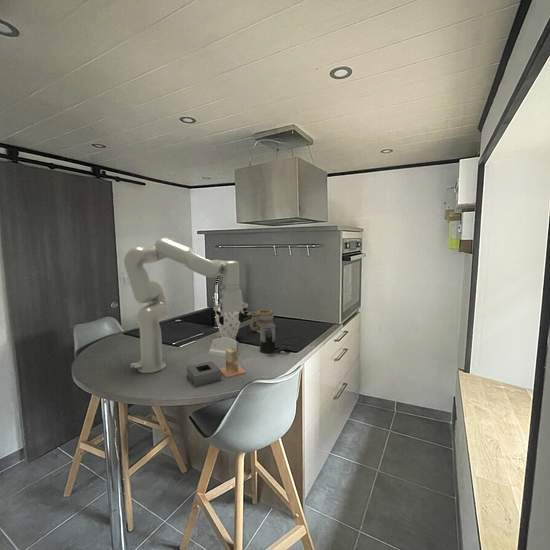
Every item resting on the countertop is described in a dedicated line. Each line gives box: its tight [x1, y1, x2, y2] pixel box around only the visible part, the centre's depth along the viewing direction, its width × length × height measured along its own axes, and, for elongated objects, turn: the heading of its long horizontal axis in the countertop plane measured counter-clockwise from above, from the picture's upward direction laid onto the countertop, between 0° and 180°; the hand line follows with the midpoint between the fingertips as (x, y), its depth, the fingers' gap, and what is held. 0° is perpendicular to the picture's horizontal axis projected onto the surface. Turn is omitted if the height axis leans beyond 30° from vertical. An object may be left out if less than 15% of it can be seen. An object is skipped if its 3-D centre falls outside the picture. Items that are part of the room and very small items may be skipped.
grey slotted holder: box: [186, 360, 222, 388], centre depth 138 cm, size 12×12×5 cm
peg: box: [225, 348, 239, 373], centre depth 145 cm, size 4×4×10 cm
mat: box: [218, 365, 247, 379], centre depth 145 cm, size 10×10×1 cm
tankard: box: [246, 309, 275, 334], centre depth 208 cm, size 20×13×15 cm, turn 118°
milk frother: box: [259, 324, 291, 354], centre depth 172 cm, size 14×16×15 cm
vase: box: [215, 307, 242, 341], centre depth 188 cm, size 16×16×35 cm
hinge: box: [208, 337, 240, 358], centre depth 168 cm, size 17×5×10 cm, turn 71°
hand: (231, 322), depth 143 cm, fingers open, 9 cm apart
